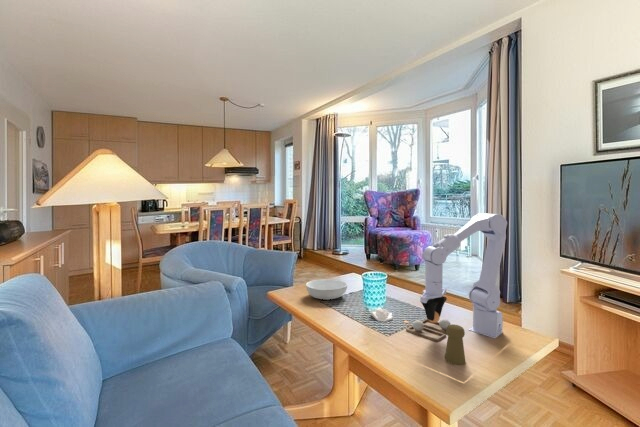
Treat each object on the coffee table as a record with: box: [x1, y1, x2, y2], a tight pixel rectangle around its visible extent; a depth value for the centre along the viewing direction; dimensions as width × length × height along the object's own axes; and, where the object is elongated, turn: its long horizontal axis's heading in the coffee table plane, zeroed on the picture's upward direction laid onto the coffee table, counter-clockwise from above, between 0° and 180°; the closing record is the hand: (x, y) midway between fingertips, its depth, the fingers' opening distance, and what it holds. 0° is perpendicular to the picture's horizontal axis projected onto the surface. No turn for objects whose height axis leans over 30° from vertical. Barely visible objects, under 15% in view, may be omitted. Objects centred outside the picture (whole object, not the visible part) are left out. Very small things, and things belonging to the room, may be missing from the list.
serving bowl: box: [305, 278, 348, 301], centre depth 162 cm, size 21×21×7 cm
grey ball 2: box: [438, 318, 452, 330], centre depth 121 cm, size 4×4×4 cm
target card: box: [402, 320, 413, 326], centre depth 127 cm, size 8×5×1 cm, turn 42°
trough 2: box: [420, 318, 447, 335], centre depth 123 cm, size 12×6×1 cm, turn 42°
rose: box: [369, 307, 394, 322], centre depth 134 cm, size 10×4×10 cm
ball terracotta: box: [429, 312, 441, 323], centre depth 115 cm, size 4×4×4 cm
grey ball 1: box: [412, 319, 424, 332], centre depth 120 cm, size 4×4×4 cm
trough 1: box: [405, 325, 447, 343], centre depth 117 cm, size 12×6×1 cm, turn 42°
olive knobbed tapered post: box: [444, 324, 466, 366], centre depth 98 cm, size 6×6×11 cm
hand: (433, 318), depth 115 cm, fingers closed on ball terracotta, 4 cm apart
